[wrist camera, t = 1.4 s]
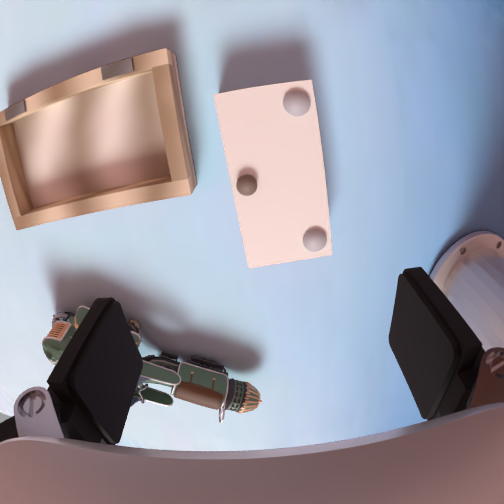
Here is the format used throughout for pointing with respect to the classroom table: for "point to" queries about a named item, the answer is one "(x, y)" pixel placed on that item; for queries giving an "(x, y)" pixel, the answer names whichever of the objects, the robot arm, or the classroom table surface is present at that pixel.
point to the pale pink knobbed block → (276, 171)
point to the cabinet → (97, 142)
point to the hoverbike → (166, 373)
